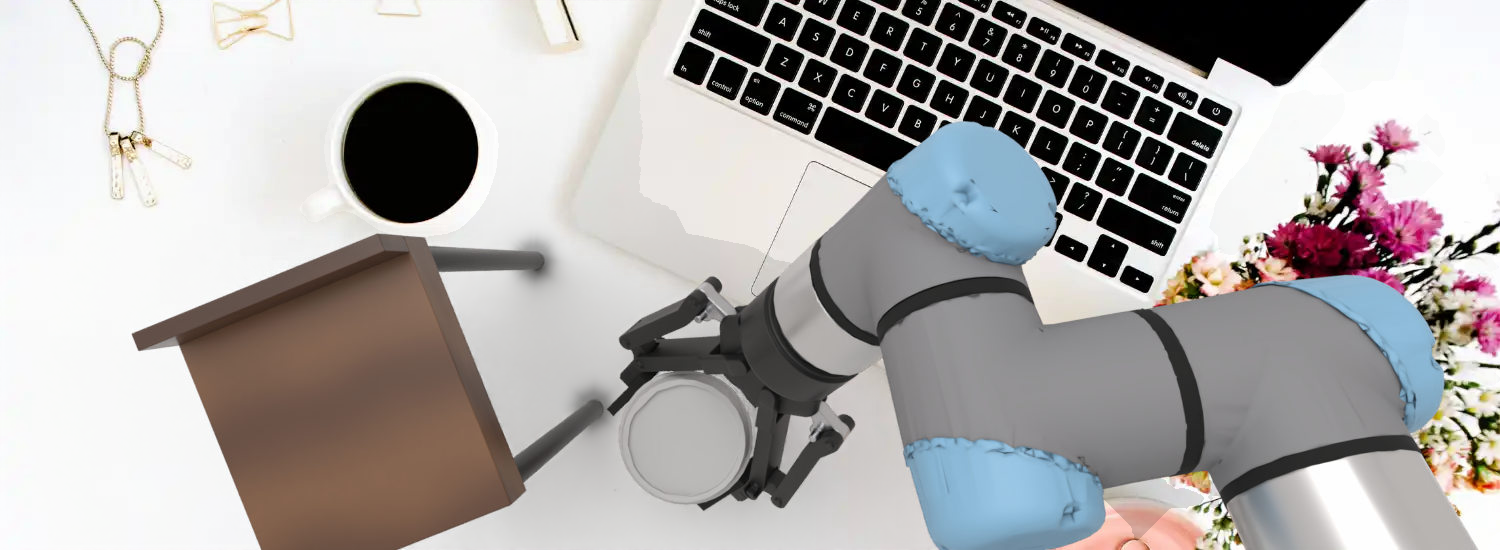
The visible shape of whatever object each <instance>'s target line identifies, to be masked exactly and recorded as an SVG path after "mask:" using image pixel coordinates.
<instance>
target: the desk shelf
mask: <svg viewBox="0 0 1500 550" xmlns="http://www.w3.org/2000/svg"><path fill="white" fill-rule="evenodd" d="M429 246H430V245H429V244H428V242H427V239H426V237H425V236H414V235H402V234H390V233H378V232H377V233H375V234H373V235H370V236H367V237H365V238H363V239H360V240H358V241H355V242H352V243H350V244H348V245H345V246H343V247H339V248H338V249H336V250H333V251H331V252H328V253H326V254H323V255H321V256H318V257H316V258H313V259H311V260H308V261H306V262H303V263H301V264H299V265H296V266H294V267H291V268H289V269H287V270H284V271H281V272H279V273H276V274H274V275H272V276H269V277H266V278H265V279H262V280H260V281H257V282H255V283H251V284H250V285H247V286H245V287H243V288H240V289H238V290H234V291H233V292H230V293H228V294H225V295H223V296H220V297H218V298H215V299H213V300H210V301H207V302H206V303H203V304H200V305H198V306H195V307H194V308H191V309H188V310H186V311H183V312H181V313H179V314H175V315H174V316H171V317H169V318H167V319H164V320H161V321H159V322H156V323H154V324H152V325H149V326H147V327H144V328H142V329H140V330H137V331H135V332H132V333H131V336H132V339H133V342H134V345H135V346H136V349H137V351H138V352H143V351H144V352H145V351H150V350H151V351H152V350H157V349H165V348H171V347H179V350H180V353H181V354H182V357H183V359H184V361H185V364H186V367H187V369H188V372H189V375H190V377H191V379H192V382H193V385H194V387H195V389H196V391H197V394H198V397H199V399H200V402H201V404H202V406H203V409H204V411H205V414H206V416H207V420H208V421H209V424H210V426H211V429H212V432H213V434H214V436H215V439H216V441H217V444H218V446H219V448H220V452H221V454H222V457H223V459H224V461H225V464H226V466H227V469H228V471H229V474H230V476H231V479H232V481H233V483H234V486H235V489H236V492H237V494H238V497H239V499H240V501H241V503H242V506H243V509H244V511H245V514H246V516H247V518H248V521H249V523H250V526H251V529H252V531H253V533H254V536H255V539H256V542H257V544H258V546H259V548H260V550H401V549H404V548H406V547H409V546H412V545H414V544H417V543H419V542H421V541H424V540H426V539H429V538H431V537H434V536H437V535H439V534H442V533H445V532H447V531H450V530H452V529H454V528H457V527H459V526H463V525H465V524H467V523H469V522H472V521H475V520H477V519H480V518H482V517H485V516H487V515H490V514H492V513H495V512H497V511H500V510H502V509H505V508H508V507H510V506H511V505H513V504H514V503H515V502H516V501H517V500H518V499H519V498H520V497H521V496H523V495H524V494H525V493H526V492H527V488H526V486H525V482H524V483H523V480H522V478H521V475H520V473H519V470H518V468H517V465H516V463H515V460H514V455H513V453H512V451H511V448H510V446H509V443H508V441H507V438H506V435H505V433H504V430H503V428H502V425H501V423H500V421H499V417H498V416H497V413H496V411H495V408H494V406H493V403H492V401H491V398H490V396H489V394H488V390H487V389H486V386H485V383H484V381H483V378H482V376H481V373H480V371H479V369H478V366H477V364H476V361H475V359H474V355H473V354H472V351H471V349H470V346H469V343H468V342H467V339H466V337H465V333H464V331H463V328H462V326H461V324H460V321H459V319H458V316H457V314H456V311H455V309H454V306H453V304H452V302H451V299H450V296H449V294H448V291H447V289H446V286H445V284H444V282H443V279H442V276H441V274H440V272H439V271H438V269H437V266H436V264H435V261H434V259H433V256H432V254H431V251H430V249H429Z"/></svg>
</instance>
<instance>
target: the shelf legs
mask: <svg viewBox="0 0 1500 550" xmlns="http://www.w3.org/2000/svg"><path fill="white" fill-rule="evenodd" d="M428 246H429V249H430V251H431V254H432V256H433V259H434V261H435V264H436V266H437V269H438V271H439V273H456V272H457V273H458V272H459V273H461V272H494V271H495V272H496V271H497V272H498V271H499V272H501V271H503V272H504V271H536V270H540V269H541V268H542V267H543V266H544V264H545V258H544V256H543V254H542V253H540V252H539V251H535V250H533V251H532V250H517V249H516V250H514V249H513V250H512V249H495V248H477V247H476V248H475V247H474V248H473V247H459V246H458V247H457V246H456V247H455V246H436V245H428ZM603 413H604V405H603V403H602V402H601V400H598V399H591V400H588V401H587V402H586V403H585V404H583V405H582V406H581V407H579V408H578V409H577V410H575V411H574V412H573V413H571V414H570V415H569V416H567V417H566V418H564V419H563V420H562V421H560V422H559V423H558V424H557V425H555V426H554V427H552V428H551V429H550V430H549V431H547V432H546V433H545V434H543V435H542V436H541V437H539V438H538V439H536V440H535V441H534V442H532V443H530V445H529V446H527V447H526V448H524V449H523V450H521V451H520V452H519V453H518V454H516V455H515V456H513V458H514V460H515V463H516V465H517V468H518V470H519V473H520V475H521V478H522V480H523V483H524V484H525V482H527V481H528V480H529V479H531V477H532V476H534V475H535V474H536V473H538V471H539V470H540V469H541V468H543V467H544V466H545V465H546V464H548V462H549V461H550V460H552V459H553V458H554V457H555V456H556V455H557V454H558V453H559V452H561V451H562V450H563V449H564V448H566V446H568V445H569V444H570V443H571V442H573V440H575V439H576V438H577V437H578V436H579V435H580V434H581V433H582V432H583V431H584V430H586V429H587V428H588V427H589V426H590V425H592V423H594V422H595V421H596V420H597V419H598V418H599V417H601V416H602V414H603Z"/></svg>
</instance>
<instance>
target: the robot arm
mask: <svg viewBox="0 0 1500 550" xmlns="http://www.w3.org/2000/svg"><path fill="white" fill-rule="evenodd" d="M1057 210H1058V205H1057V199H1056V196H1055V193H1054V190H1053V188H1052V186H1051V184H1050V181H1049V179H1048V178H1047V176H1046V175H1045V173H1044V172H1043V170H1042V169H1041V167H1040V165H1039V164H1038V163H1037V161H1036V160H1035V159H1034V158H1033V157H1032V156H1031V154H1030V153H1029V152H1027V150H1026V149H1025V148H1024V147H1023V146H1021V145H1020V143H1018V142H1017V141H1016V140H1015V139H1013V138H1012V137H1010V136H1009V135H1007V134H1005V133H1003V132H1002V131H1001V130H998V129H996V128H994V127H992V126H985V125H984V126H983V125H981V124H980V123H978V122H975V121H965V120H964V121H955V122H952V123H948V124H945V125H944V126H942V127H939V128H938V129H937V130H936V131H934V133H931V135H929V136H928V137H927V138H926V139H925V140H923V141H922V142H921V143H920V144H918V145H917V146H916V147H914V148H913V149H912V150H911V151H910V152H908V153H907V154H906V155H904V157H901V159H898V160H895V161H894V162H892V164H890V166H889V167H888V168H887V171H886V172H885V174H883V175H882V176H881V177H880V178H879V179H878V181H876V183H875V184H874V185H873V186H872V187H871V188H870V189H869V190H868V191H867V192H866V193H865V194H864V195H863V196H862V197H861V198H860V199H858V201H857V202H856V203H855V204H854V205H853V206H852V207H851V208H850V209H849V210H847V212H846V213H844V215H843V216H841V218H840V219H839V220H838V221H837V222H836V223H835V224H834V225H833V226H831V227H830V228H829V229H828V230H827V231H825V232H824V233H823V234H822V235H821V236H820V237H819V238H817V239H816V240H815V241H814V242H813V243H811V244H810V245H809V246H808V247H807V248H806V249H805V250H804V251H802V253H801V254H800V255H799V256H797V258H796V259H795V260H794V261H793V262H791V263H790V264H789V265H788V266H787V267H786V268H785V269H784V270H783V272H782V273H781V274H780V275H779V276H778V277H775V278H774V280H773V281H772V282H770V283H769V284H768V285H767V286H766V287H765V288H764V289H763V290H762V291H761V292H760V293H758V295H756V296H755V298H754V299H753V300H752V301H750V303H748V304H746V305H737V306H735V307H734V306H733V305H732V304H731V303H730V302H729V301H728V300H727V299H726V298H725V297H724V296H722V295H721V294H720V293H721V292H722V290H723V283H722V282H721V280H720V279H719V278H717V277H716V276H713V275H712V276H709V277H708V278H706V279H705V280H704V281H703V282H702V283H700V284H699V285H698V286H697V287H696V288H695V289H694V290H692V292H690V293H689V294H688V295H687V296H686V297H685V298H682V299H679V300H678V301H675V302H674V303H671V304H669V305H667V306H665V307H663V308H661V309H659V310H656V311H654V312H652V313H650V314H647V315H645V316H643V317H641V318H640V319H639V320H637V321H636V322H635V323H634V324H633V325H631V326H630V327H629V328H628V329H627V330H625V332H623V333H622V334H621V335H620V336H619V337H618V342H619V344H620V346H621V347H622V348H623V349H625V350H627V351H631V353H632V355H633V358H632V361H631V362H630V363H629V364H628V365H627V366H626V367H625V368H624V369H623V370H622V371H621V372H620V375H619V379H620V380H621V381H622V383H624V384H625V385H626V386H627V387H626V389H625V390H624V391H623V392H622V393H621V394H620V395H619V396H618V397H617V398H616V399H615V400H614V401H613V402H612V403H611V404H610V405H609V406H608V407H607V408H606V410H607V412H608V413H609V414H610V415H611V416H612V417H614V416H615V415H616V414H617V413H619V412H620V411H621V410H622V409H623V408H624V407H626V406H627V404H628V402H629V401H630V399H631V398H632V397H633V395H634V394H635V393H636V392H637V391H638V390H639V389H640V388H641V387H642V386H643V385H644V384H646V383H647V382H649V381H650V380H652V379H653V378H655V377H657V376H658V375H659V373H660V372H673V371H698V372H702V371H703V373H705V374H707V375H712V376H713V375H722V376H724V378H726V379H727V380H728V382H729V383H730V384H732V385H733V386H735V387H736V388H737V389H739V391H741V393H742V394H743V396H744V397H745V399H746V400H747V402H749V404H750V405H751V406H752V407H753V408H754V409H757V411H756V417H755V424H754V427H755V428H757V430H756V435H755V442H754V446H753V447H754V448H753V452H752V456H750V459H749V462H748V464H747V466H746V468H745V470H744V472H743V474H742V475H741V477H740V478H739V479H738V481H737V482H736V483H735V484H734V485H733V486H732V487H731V488H730V489H729V490H727V491H726V492H725V493H723V494H722V495H720V496H718V497H716V498H714V499H712V500H709V501H707V502H703V503H698V504H696V505H697V506H698V507H699V508H700V509H701V510H702V511H703V512H705V511H706V510H708V509H709V508H711V507H713V506H714V505H716V504H717V503H719V502H720V501H722V500H724V499H725V498H727V497H728V496H730V495H731V496H732V497H733V498H734V499H735V500H736V502H744V501H746V500H748V499H749V500H751V501H756V500H757V499H758V498H759V497H760V496H761V494H762V493H763V492H764V493H766V494H767V495H769V496H770V501H771V503H772V505H774V506H775V507H776V508H778V509H785V508H786V507H787V505H788V504H789V502H790V501H791V500H792V498H793V497H794V496H795V494H796V493H797V492H798V490H799V489H800V487H801V486H802V485H803V483H804V482H805V480H806V479H807V478H808V476H809V475H810V473H812V470H813V469H814V468H815V467H816V466H817V464H818V463H819V461H820V460H821V459H822V458H824V457H827V456H829V455H832V454H834V453H836V452H838V450H840V448H841V447H842V445H843V444H844V442H845V441H846V440H847V438H848V437H849V436H850V434H851V433H852V431H854V428H855V427H856V421H855V420H854V418H853V417H852V416H851V415H849V414H846V413H841V414H839V415H837V414H836V412H835V411H834V410H833V409H832V408H831V407H830V406H829V404H828V403H827V400H828V396H830V395H831V394H832V393H834V392H835V391H837V390H838V389H840V388H841V387H843V386H845V385H846V384H847V383H849V382H850V381H851V380H853V379H855V378H856V377H857V376H858V375H859V374H860V373H863V372H865V371H866V370H867V369H869V368H870V367H871V366H873V365H875V364H876V363H878V361H880V360H881V359H882V361H883V365H884V370H885V375H886V379H887V383H888V387H889V391H890V396H891V400H892V405H893V409H894V413H895V417H896V418H895V419H896V422H897V427H898V431H899V434H900V439H901V445H902V449H903V451H902V453H903V457H904V463H905V466H906V467H907V468H908V469H909V472H910V474H911V479H912V482H913V485H914V489H915V491H916V495H917V498H918V502H919V505H920V506H919V507H920V509H921V512H922V515H923V519H924V523H925V526H926V529H927V532H928V535H929V538H930V540H931V541H932V542H933V544H934V546H935V547H936V548H937V549H938V550H1055V549H1060V548H1063V547H1066V546H1069V545H1070V546H1071V545H1073V544H1076V543H1077V542H1081V541H1083V540H1085V539H1088V538H1090V537H1091V536H1093V535H1094V534H1096V533H1098V532H1099V531H1100V529H1102V527H1103V526H1104V524H1105V522H1106V516H1107V513H1106V512H1107V511H1106V506H1105V501H1104V494H1105V490H1107V489H1112V488H1116V487H1120V486H1126V485H1129V484H1135V483H1141V482H1146V481H1147V482H1148V481H1152V480H1158V479H1165V478H1173V477H1178V476H1184V475H1189V474H1190V473H1197V472H1206V473H1208V474H1209V476H1210V478H1211V480H1212V483H1213V485H1214V487H1215V488H1216V490H1217V491H1216V492H1217V493H1218V494H1219V497H1220V499H1221V502H1222V504H1223V506H1224V508H1225V509H1226V511H1227V512H1228V514H1229V516H1230V518H1231V521H1232V523H1233V525H1234V527H1235V530H1236V532H1237V534H1238V537H1239V538H1240V541H1241V544H1242V545H1243V548H1244V550H1479V548H1478V547H1477V545H1476V543H1475V542H1474V540H1473V538H1472V537H1471V535H1470V533H1469V532H1468V529H1467V528H1466V527H1465V524H1464V523H1463V521H1462V520H1461V518H1460V516H1459V514H1458V513H1457V512H1456V510H1455V508H1454V506H1453V505H1452V503H1451V501H1450V500H1449V498H1448V496H1447V494H1446V493H1445V491H1444V489H1443V488H1442V486H1441V484H1440V482H1439V481H1438V479H1437V478H1436V476H1435V474H1434V472H1433V471H1432V470H1431V468H1430V466H1429V464H1428V463H1427V460H1426V459H1425V458H1424V456H1423V452H1422V449H1420V447H1419V445H1418V443H1417V442H1416V440H1415V438H1414V437H1413V435H1412V434H1413V433H1415V432H1418V431H1419V430H1421V429H1423V428H1424V427H1425V426H1426V425H1427V424H1428V423H1429V422H1430V421H1431V420H1432V419H1433V418H1434V416H1435V415H1436V414H1437V412H1438V411H1439V409H1440V407H1441V406H1440V405H1441V403H1442V400H1443V396H1444V389H1445V371H1444V368H1443V366H1441V365H1440V364H1439V362H1437V361H1436V358H1435V357H1434V355H1433V347H1434V346H1435V344H1436V342H1437V341H1436V338H1435V336H1434V334H1433V331H1432V330H1431V328H1430V326H1429V323H1428V322H1427V321H1426V319H1425V318H1424V316H1423V314H1421V312H1420V311H1419V309H1417V307H1416V306H1415V305H1414V304H1413V303H1412V301H1410V300H1409V299H1408V298H1407V297H1405V296H1404V295H1403V294H1401V293H1400V292H1399V291H1398V290H1397V289H1395V288H1394V287H1392V286H1390V285H1389V284H1387V283H1385V282H1383V281H1380V280H1377V279H1375V278H1372V277H1369V276H1364V275H1355V274H1354V275H1352V274H1343V275H1332V276H1323V277H1322V276H1321V277H1313V278H1304V279H1302V278H1301V279H1294V280H1293V279H1292V280H1283V281H1281V280H1279V281H1277V280H1271V281H1266V282H1265V281H1264V282H1257V283H1256V284H1254V285H1252V286H1251V287H1249V288H1245V289H1241V290H1236V291H1231V292H1226V293H1220V294H1216V295H1211V296H1205V297H1200V298H1194V299H1190V300H1185V301H1181V302H1175V303H1170V304H1165V305H1160V306H1154V307H1149V308H1137V309H1132V310H1126V311H1118V312H1114V313H1107V314H1102V315H1096V316H1091V317H1086V318H1080V319H1074V320H1069V321H1061V322H1056V323H1048V324H1047V323H1045V324H1044V322H1043V321H1042V318H1041V316H1040V314H1039V311H1038V309H1037V307H1036V304H1035V301H1034V298H1033V295H1032V292H1031V290H1030V287H1029V283H1028V281H1027V277H1026V276H1025V273H1024V269H1023V266H1024V265H1026V264H1027V262H1028V261H1030V260H1031V261H1032V259H1033V258H1034V257H1036V256H1037V253H1038V252H1039V251H1040V250H1041V249H1042V248H1043V247H1045V245H1047V244H1048V243H1049V241H1050V240H1051V239H1052V238H1053V236H1054V234H1055V231H1056V229H1057V219H1056V217H1055V216H1056V213H1057ZM712 320H715V321H718V322H719V334H718V335H711V336H710V335H707V336H694V337H693V336H692V337H675V338H665V337H663V336H666V335H669V334H671V333H673V332H676V331H679V330H681V329H683V328H685V327H687V326H688V325H690V324H691V323H692V322H693V321H694V322H695V323H696V324H701V323H703V321H704V322H710V321H712ZM791 416H796V417H801V418H811V420H812V423H811V425H810V426H809V432H810V434H809V435H808V440H809V441H808V442H807V444H806V445H805V446H804V448H803V449H802V450H801V452H800V454H799V455H798V456H797V457H796V458H795V461H794V462H793V464H792V465H791V466H790V468H789V469H788V471H787V472H786V473H785V472H783V471H782V470H781V466H782V462H783V455H784V451H785V445H786V441H787V436H788V431H789V426H790V421H791Z"/></svg>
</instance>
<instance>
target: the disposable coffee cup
mask: <svg viewBox="0 0 1500 550" xmlns="http://www.w3.org/2000/svg"><path fill="white" fill-rule="evenodd" d="M619 423H620V424H619V426H618V427H619V428H618V445H619V451H620V452H619V453H620V456H621V458H622V461H623V464H624V466H625V469H626V470H627V472H628V474H629V475H630V477H631V478H632V479H633V481H634V482H636V484H637V485H638V486H639V487H640V488H641V489H643V490H644V491H645V492H646V493H648V494H649V495H650V496H652V497H654V498H656V499H659V500H661V501H663V502H667V503H671V504H674V505H683V506H691V505H697V504H698V503H703V502H707V501H709V500H712V499H714V498H716V497H718V496H720V495H722V494H723V493H725V492H726V491H727V490H729V489H730V488H731V487H732V486H733V485H734V484H735V483H736V482H737V481H738V479H739V478H740V477H741V475H742V474H743V472H744V470H745V468H746V466H747V464H748V462H749V459H750V458H751V455H752V453H753V452H752V451H753V443H754V431H753V424H752V421H751V416H750V413H749V411H748V409H747V408H746V405H745V404H744V401H743V400H742V398H741V397H740V396H739V395H738V393H736V391H735V390H734V389H733V388H732V387H730V386H729V385H728V384H727V383H726V382H725V381H723V380H721V379H719V377H716V376H714V375H713V374H712V375H707V374H705V373H704V371H703V372H702V371H667V372H666V373H662V374H658V375H656V376H655V377H654V378H653V379H652V380H650V381H649V382H647V383H646V384H644V385H643V386H642V387H641V388H640V389H639V390H638V391H637V392H636V393H635V394H634V395H633V397H632V398H631V399H630V401H629V402H628V403H627V404H626V405H625V408H624V410H623V412H622V415H621V418H620V422H619Z"/></svg>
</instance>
